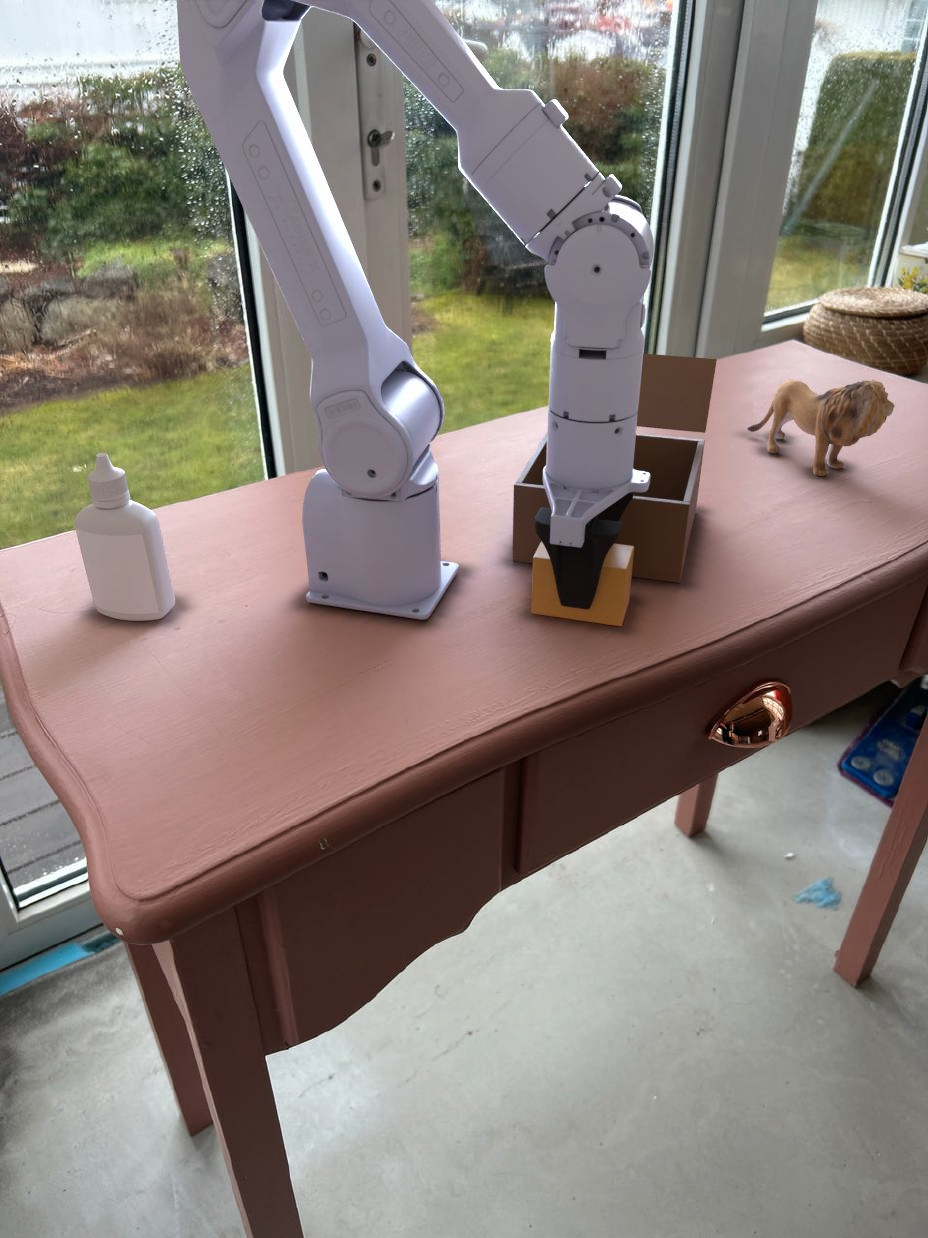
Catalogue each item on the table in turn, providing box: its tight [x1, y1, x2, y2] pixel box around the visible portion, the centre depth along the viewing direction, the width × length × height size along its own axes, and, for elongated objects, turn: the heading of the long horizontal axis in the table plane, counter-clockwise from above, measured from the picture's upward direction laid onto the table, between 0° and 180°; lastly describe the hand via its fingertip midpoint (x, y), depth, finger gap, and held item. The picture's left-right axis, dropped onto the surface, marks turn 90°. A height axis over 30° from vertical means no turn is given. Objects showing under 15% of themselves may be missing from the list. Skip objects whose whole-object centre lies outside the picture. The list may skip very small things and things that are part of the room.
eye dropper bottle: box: [74, 452, 176, 622], centre depth 66 cm, size 4×6×12 cm
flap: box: [637, 353, 718, 434], centre depth 80 cm, size 13×6×1 cm
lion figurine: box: [746, 379, 896, 477], centre depth 89 cm, size 15×5×9 cm, turn 33°
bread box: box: [511, 432, 706, 584], centre depth 77 cm, size 13×13×6 cm
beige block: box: [530, 541, 634, 627], centre depth 68 cm, size 6×4×5 cm, turn 73°
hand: (581, 591), depth 68 cm, fingers closed on beige block, 3 cm apart
